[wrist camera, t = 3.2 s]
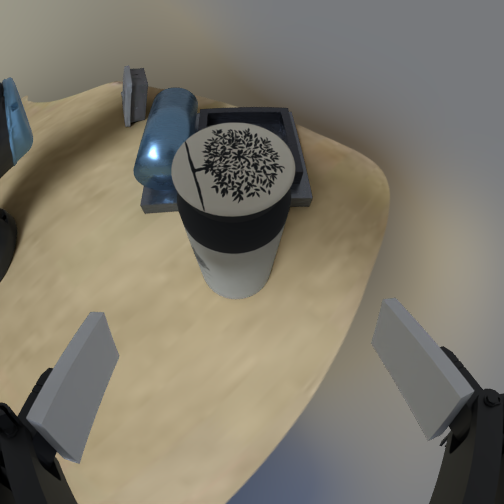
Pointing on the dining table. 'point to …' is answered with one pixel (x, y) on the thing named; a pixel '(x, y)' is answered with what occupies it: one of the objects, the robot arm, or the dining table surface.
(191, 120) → the base
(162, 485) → the dining table surface
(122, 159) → the dining table surface
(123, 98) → the electrical switch
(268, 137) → the travel mug
